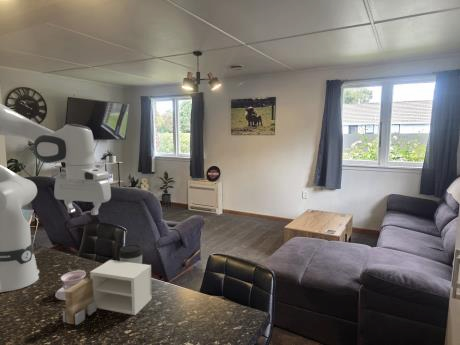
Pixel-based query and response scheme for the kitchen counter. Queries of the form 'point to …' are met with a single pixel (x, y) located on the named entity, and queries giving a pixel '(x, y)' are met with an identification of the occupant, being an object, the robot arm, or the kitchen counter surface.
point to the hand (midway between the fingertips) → (83, 213)
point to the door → (78, 299)
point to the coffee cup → (131, 254)
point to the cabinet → (118, 288)
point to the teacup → (69, 282)
